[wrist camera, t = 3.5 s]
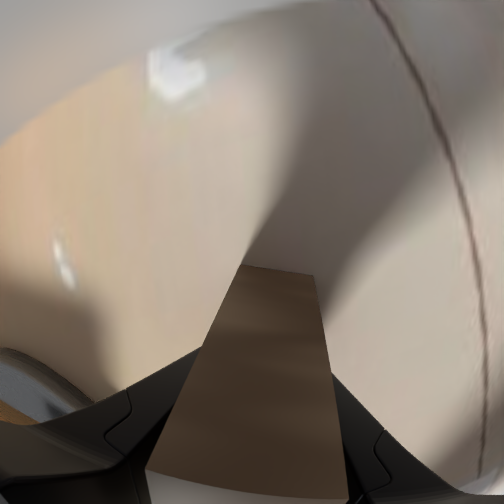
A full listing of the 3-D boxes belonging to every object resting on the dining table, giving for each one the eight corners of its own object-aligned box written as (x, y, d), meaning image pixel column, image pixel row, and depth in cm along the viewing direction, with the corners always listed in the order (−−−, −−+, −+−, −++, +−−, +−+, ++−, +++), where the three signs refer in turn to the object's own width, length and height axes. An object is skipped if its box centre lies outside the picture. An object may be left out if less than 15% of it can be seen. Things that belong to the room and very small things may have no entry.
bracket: (139, 397, 13) (80, 496, 7) (162, 534, 18) (143, 587, 12) (-40, 319, 14) (-100, 358, 8) (27, 475, 18) (-1, 513, 13)
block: (312, 275, 10) (348, 499, 3) (290, 374, 12) (281, 576, 4) (240, 264, 11) (144, 469, 3) (227, 363, 12) (166, 558, 4)
